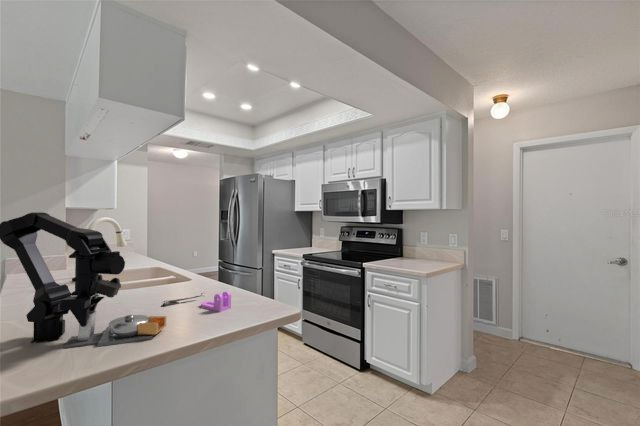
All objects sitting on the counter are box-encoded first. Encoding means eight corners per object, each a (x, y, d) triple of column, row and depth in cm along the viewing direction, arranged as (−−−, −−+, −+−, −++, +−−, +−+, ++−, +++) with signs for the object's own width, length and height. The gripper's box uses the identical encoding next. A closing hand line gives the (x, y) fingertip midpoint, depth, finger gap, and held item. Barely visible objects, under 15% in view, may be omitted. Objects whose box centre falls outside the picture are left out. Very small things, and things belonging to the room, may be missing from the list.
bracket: (230, 308, 127) (231, 291, 127) (220, 312, 122) (220, 294, 122) (208, 303, 133) (209, 287, 133) (198, 306, 129) (198, 290, 129)
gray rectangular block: (89, 340, 92) (92, 313, 92) (77, 340, 92) (80, 313, 92) (93, 336, 95) (96, 310, 95) (82, 336, 94) (85, 310, 95)
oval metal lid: (100, 337, 93) (100, 322, 93) (121, 324, 104) (121, 310, 104) (153, 336, 94) (153, 322, 94) (168, 323, 105) (168, 310, 105)
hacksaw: (162, 308, 127) (162, 304, 127) (153, 302, 134) (153, 299, 134) (217, 297, 144) (217, 294, 144) (207, 293, 151) (207, 290, 151)
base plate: (97, 346, 90) (97, 343, 90) (107, 329, 102) (107, 326, 102) (152, 339, 95) (152, 335, 95) (155, 323, 108) (155, 321, 108)
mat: (63, 348, 88) (63, 347, 88) (71, 338, 95) (71, 336, 95) (97, 344, 91) (97, 342, 91) (103, 334, 98) (103, 332, 98)
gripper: (104, 278, 86) (103, 334, 86) (127, 266, 104) (127, 312, 104) (57, 280, 83) (56, 337, 84) (89, 267, 102) (88, 315, 102)
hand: (86, 324), depth 93 cm, fingers closed on gray rectangular block, 3 cm apart
